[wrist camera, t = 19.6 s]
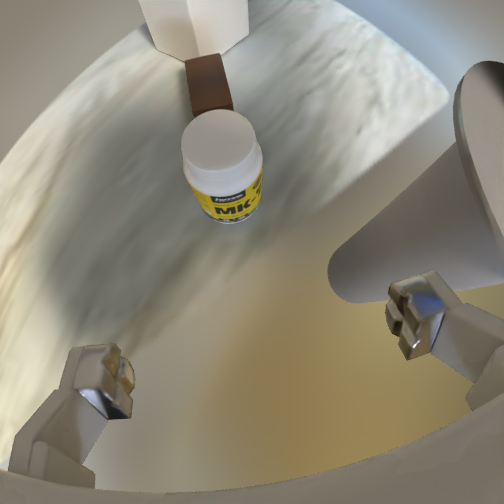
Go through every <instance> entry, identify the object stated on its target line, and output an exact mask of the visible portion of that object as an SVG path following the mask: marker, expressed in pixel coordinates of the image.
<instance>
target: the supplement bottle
mask: <svg viewBox="0 0 504 504" xmlns="http://www.w3.org/2000/svg"><path fill="white" fill-rule="evenodd" d="M181 150H182V154H183V156H184V157H183V170H184V174H185V177H186V179H187V181H188V183H189V185H190V186H191V188H192V190H193V192H194V194H195V196H196V198H197V200H198V202H199V204H200V206H201V207H202V209H203V211H204V212H205V213H206V214H207V215H208V216H209V217H210V218H212V219H213V220H215V221H217V222H220V223H225V224H233V223H238V222H241V221H243V220H245V219H247V218H248V217H250V216H251V215H252V214H253V213H254V212H255V211H256V209H257V208H258V206H259V204H260V201H261V196H262V168H263V157H262V151H261V148H260V145H259V143H258V142H257V140H256V135H255V131H254V128H253V126H252V124H251V123H250V122H249V120H248V119H246V118H245V117H244V116H243V115H241V114H239V113H237V112H234V111H231V110H224V109H219V110H212V111H208V112H205V113H203V114H201V115H199V116H197V117H196V118H195V119H193V120H192V121H191V122H190V123H189V124H188V125H187V127H186V128H185V130H184V132H183V135H182V138H181Z"/></svg>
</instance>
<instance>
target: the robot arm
mask: <svg viewBox="0 0 504 504" xmlns="http://www.w3.org/2000/svg"><path fill="white" fill-rule="evenodd" d="M388 295H389V296H390V298H391V299H390V300H389V301H388V303H387V304H386V310H385V315H386V321H387V324H388V327H389V329H390V331H391V332H392V334H394V335H396V336H398V337H400V338H399V343H398V345H399V347H400V349H401V351H402V352H403V354H404V356H405V358H406V360H411V359H413V358H416V357H419V356H422V355H425V354H427V353H430V352H431V354H432V355H433V356H435V357H436V358H438V359H439V360H441V361H442V362H444V363H445V364H447V365H448V366H450V367H451V368H453V369H454V370H455V371H457V372H459V373H460V374H461V375H463V376H464V377H466V378H467V379H469V380H470V381H472V382H473V383H474V385H473V386H472V388H471V389H470V390H469V392H468V393H467V396H466V401H467V403H468V404H469V406H470V408H471V410H472V412H470V413H469V414H467V415H465V416H463V417H461V418H459V419H458V420H456V421H454V422H452V423H450V424H448V425H446V426H444V427H442V428H440V429H438V430H436V431H434V432H432V433H429V434H427V435H425V436H423V437H421V438H418V439H416V440H414V441H412V442H409V443H407V444H404V445H402V446H400V447H397V448H395V449H392V450H389V451H387V452H384V453H381V454H379V455H376V456H373V457H370V458H367V459H364V460H361V461H358V462H355V463H352V464H349V465H346V466H343V467H339V468H335V469H332V470H328V471H325V472H321V473H317V474H313V475H309V476H304V477H301V478H295V479H291V480H286V481H281V482H275V483H269V484H264V485H257V486H250V487H244V488H235V489H226V490H216V491H202V492H182V493H181V492H180V493H145V492H125V491H111V490H101V489H95V474H94V472H93V471H91V470H90V469H88V468H86V467H85V466H83V465H82V464H83V462H84V461H85V459H86V457H87V456H88V454H89V452H90V451H91V449H92V447H93V445H94V443H95V442H96V441H97V439H98V437H99V436H100V434H101V432H102V431H103V429H104V428H105V426H106V424H107V423H108V420H112V419H128V418H131V415H132V404H133V399H132V398H131V396H130V395H129V394H130V393H131V392H132V390H133V389H134V386H135V376H134V370H133V368H132V365H131V364H130V362H129V361H128V359H126V358H124V357H122V356H120V354H121V350H120V348H119V347H118V346H117V344H115V343H109V344H99V345H89V346H82V347H73V348H72V349H71V350H70V352H69V355H68V358H67V361H66V364H65V368H64V371H63V375H62V378H61V382H60V385H59V389H58V390H54V391H53V392H52V393H51V395H50V396H49V397H48V398H47V399H46V400H45V401H44V403H43V404H42V405H41V406H40V407H39V408H38V409H37V411H36V412H35V413H34V414H33V415H32V416H31V418H30V419H29V420H28V421H27V422H26V424H25V425H24V426H23V427H22V428H21V429H20V431H19V432H18V433H17V434H16V435H15V438H14V443H13V447H12V452H11V456H10V461H9V467H8V471H5V470H2V469H0V504H504V319H502V318H499V317H497V316H495V315H493V314H491V313H489V312H486V311H484V310H482V309H480V308H478V307H475V306H473V305H471V304H469V303H465V304H463V303H462V302H461V301H460V299H459V298H458V297H457V296H456V295H455V293H454V292H453V291H452V290H451V288H450V287H449V286H448V285H447V284H446V282H445V281H444V280H443V279H442V278H441V276H440V275H439V274H438V273H437V272H435V271H433V270H432V271H429V272H426V273H423V274H420V275H416V276H413V277H410V278H407V279H404V280H400V281H397V282H394V283H391V284H390V286H389V289H388Z"/></svg>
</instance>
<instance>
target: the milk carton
mask: <svg viewBox="0 0 504 504" xmlns="http://www.w3.org/2000/svg"><path fill="white" fill-rule="evenodd" d="M138 1H139V4H140V6H141V9H142V12H143V15H144V17H145V20H146V23H147V25H148V28H149V31H150V33H151V36H152V39H153V41H154V44H155V47H156V49H157V50H159V51H161V52H164V53H166V54H168V55H170V56H173V57H175V58H177V59H179V60H182V61H184V62H185V60H189V59H193V58H197V57H201V56H206V55H211V54H215V53H220V55H222V54H224V53H225V52H226V51H227V50H229V49H230V48H231V47H233V46H234V45H235V44H237V43H238V42H239V41H240V40H242V39H243V38H244V37H246V36H247V35H248V34H249V21H248V2H247V0H138Z"/></svg>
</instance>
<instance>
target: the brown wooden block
mask: <svg viewBox="0 0 504 504" xmlns="http://www.w3.org/2000/svg"><path fill="white" fill-rule="evenodd" d="M185 68H186V75H187V81H188V88H189V94H190V101H191V107H192V113H193V116H194V119H195V118H196V117H197V116H199V115H201V114H203V113H205V112H208V111H212V110H219V109H224V110H231V111H234V108H233V102H232V98H231V94H230V90H229V86H228V82H227V78H226V74H225V71H224V67H223V63H222V59H221V55H220V53H215V54H211V55H206V56H201V57H197V58H193V59H189V60H185Z"/></svg>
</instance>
